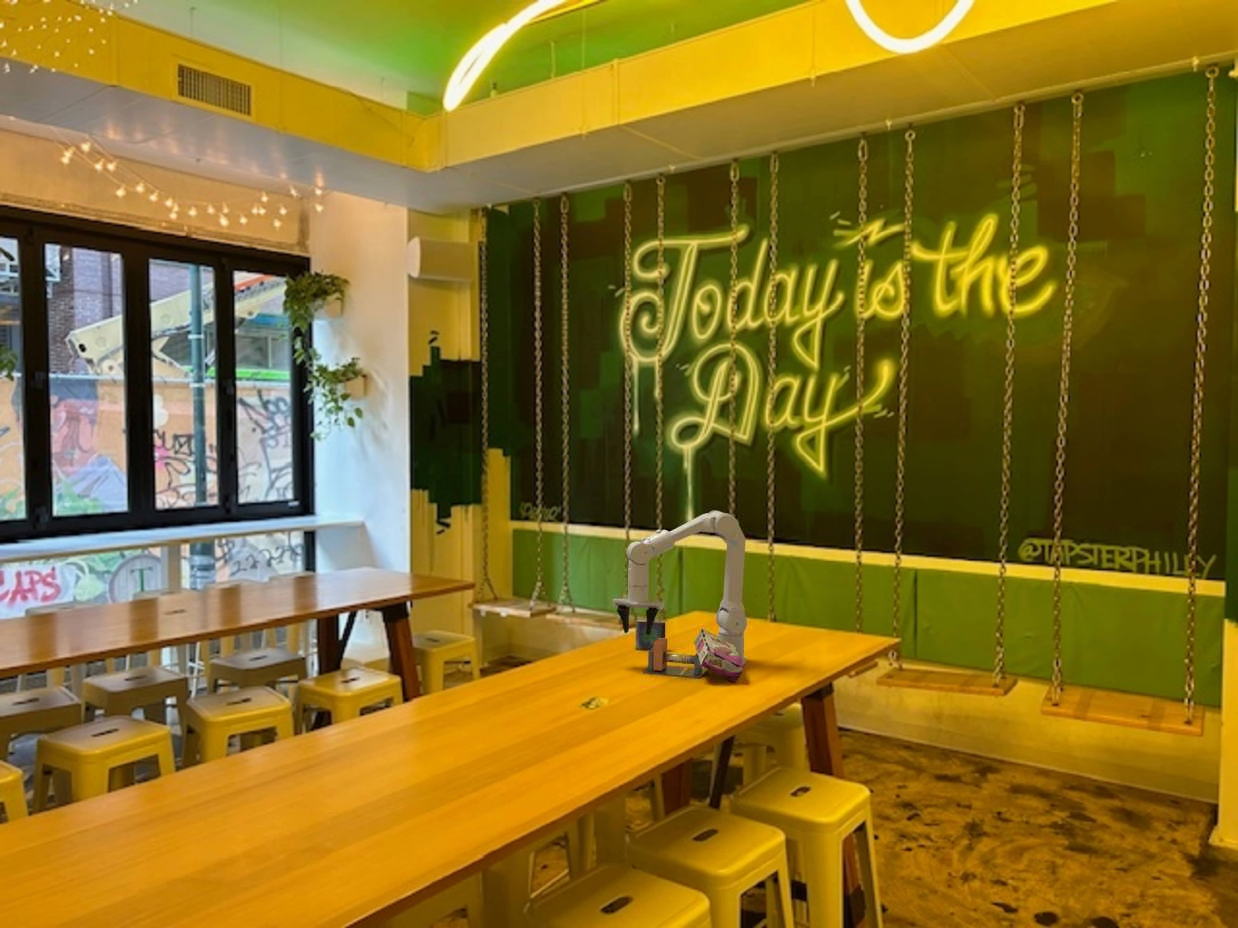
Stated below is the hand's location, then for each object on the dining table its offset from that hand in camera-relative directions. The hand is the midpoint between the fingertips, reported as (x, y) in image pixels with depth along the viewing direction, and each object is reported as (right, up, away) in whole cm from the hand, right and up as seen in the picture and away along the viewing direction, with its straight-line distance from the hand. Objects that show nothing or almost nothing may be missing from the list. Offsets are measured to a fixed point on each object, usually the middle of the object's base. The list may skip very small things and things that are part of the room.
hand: (637, 633), depth 260 cm
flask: (+4, -9, +22) cm, 24 cm away
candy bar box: (+22, -6, -14) cm, 27 cm away
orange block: (+6, -10, -2) cm, 12 cm away
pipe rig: (+10, -10, -3) cm, 15 cm away
